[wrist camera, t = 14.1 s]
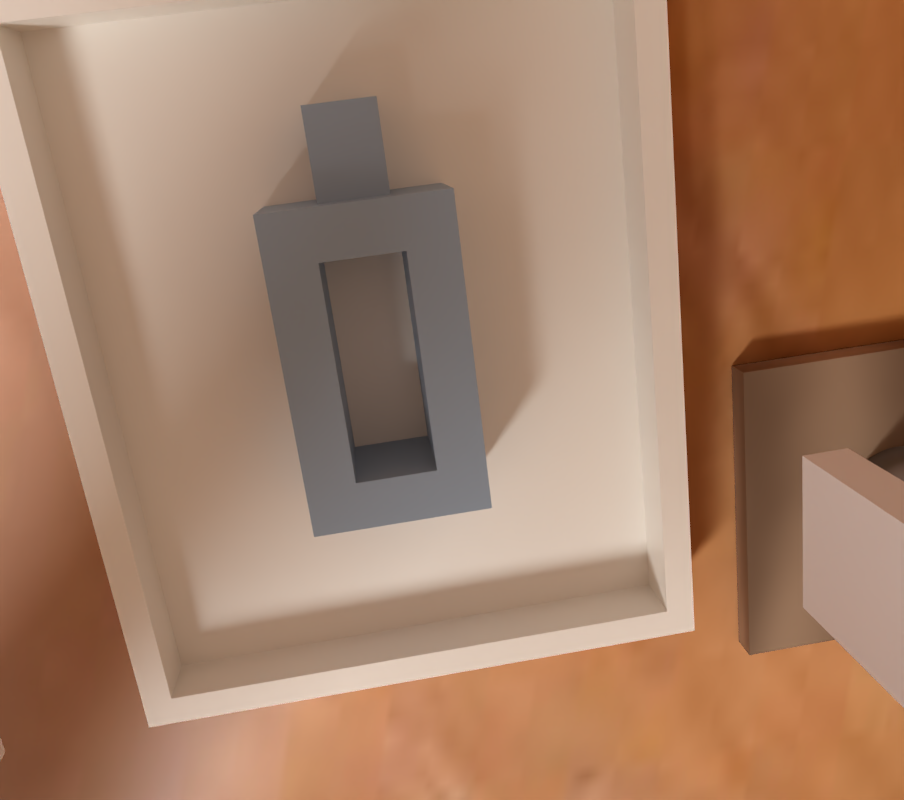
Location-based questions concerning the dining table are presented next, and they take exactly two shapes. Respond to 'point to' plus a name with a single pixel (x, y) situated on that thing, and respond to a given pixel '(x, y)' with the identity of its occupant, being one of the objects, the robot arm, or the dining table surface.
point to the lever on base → (780, 469)
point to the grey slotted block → (315, 343)
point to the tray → (355, 329)
